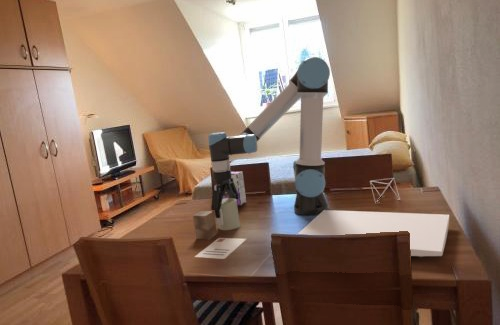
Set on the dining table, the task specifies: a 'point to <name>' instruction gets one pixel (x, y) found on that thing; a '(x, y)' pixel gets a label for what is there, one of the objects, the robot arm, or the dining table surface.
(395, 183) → the geometric polyhedron
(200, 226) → the block
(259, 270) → the dining table surface
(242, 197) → the candy box
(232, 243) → the letter
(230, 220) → the can
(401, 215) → the board
